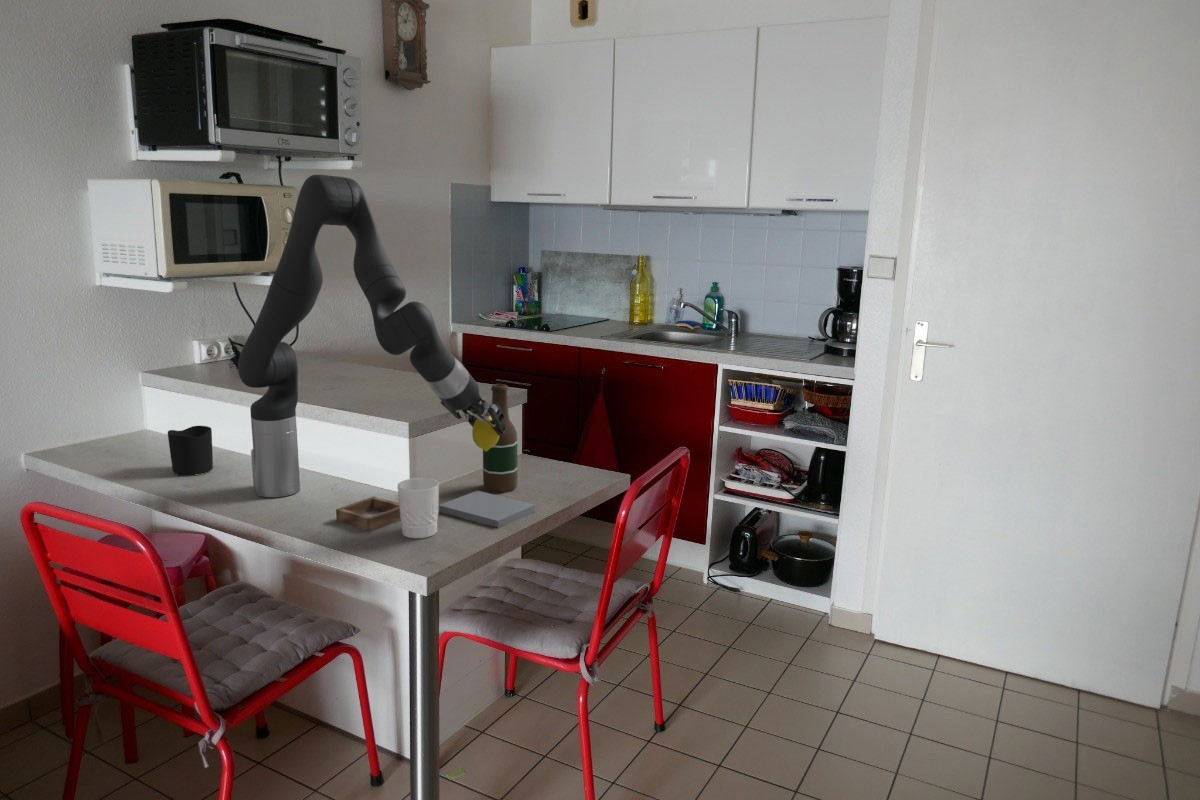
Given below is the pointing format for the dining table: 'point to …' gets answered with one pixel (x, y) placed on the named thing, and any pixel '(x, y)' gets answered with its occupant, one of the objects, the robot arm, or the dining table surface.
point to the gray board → (487, 508)
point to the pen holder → (191, 450)
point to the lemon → (484, 435)
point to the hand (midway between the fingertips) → (491, 429)
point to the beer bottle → (501, 451)
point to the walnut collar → (356, 510)
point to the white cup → (418, 507)
